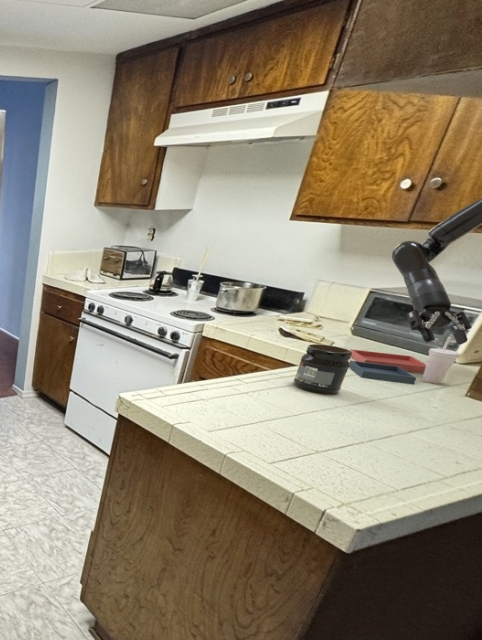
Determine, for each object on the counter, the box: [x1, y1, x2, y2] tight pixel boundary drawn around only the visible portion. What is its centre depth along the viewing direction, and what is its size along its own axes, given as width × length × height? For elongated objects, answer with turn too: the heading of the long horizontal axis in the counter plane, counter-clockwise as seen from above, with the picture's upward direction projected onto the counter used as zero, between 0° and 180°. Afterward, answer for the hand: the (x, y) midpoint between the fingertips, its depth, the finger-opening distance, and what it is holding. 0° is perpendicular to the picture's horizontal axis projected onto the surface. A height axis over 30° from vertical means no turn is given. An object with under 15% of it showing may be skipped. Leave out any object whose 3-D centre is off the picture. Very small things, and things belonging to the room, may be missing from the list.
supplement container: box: [293, 343, 352, 395], centre depth 134 cm, size 10×10×12 cm
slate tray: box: [349, 360, 417, 385], centre depth 148 cm, size 12×12×2 cm
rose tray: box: [350, 349, 427, 374], centre depth 159 cm, size 16×14×2 cm
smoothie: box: [421, 336, 461, 385], centre depth 141 cm, size 6×6×14 cm
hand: (446, 342), depth 139 cm, fingers open, 8 cm apart
